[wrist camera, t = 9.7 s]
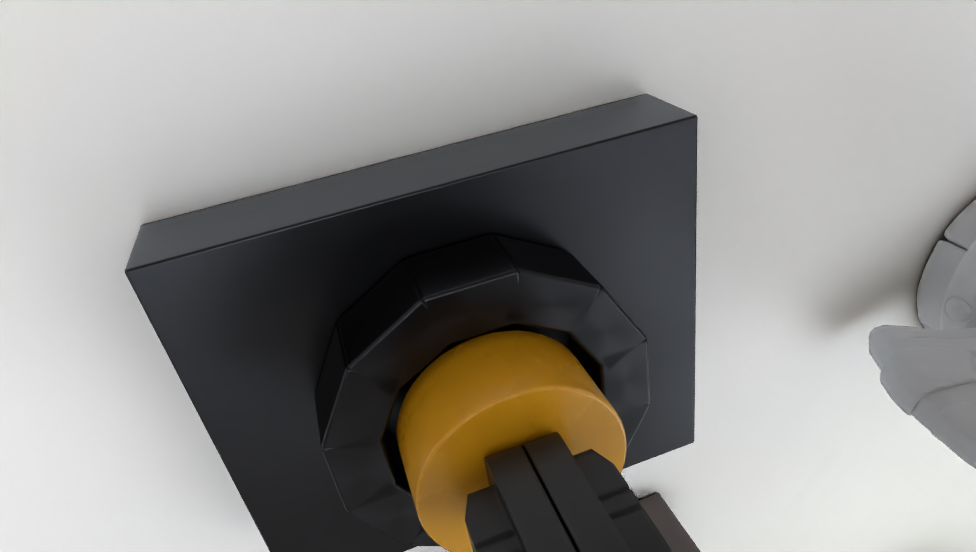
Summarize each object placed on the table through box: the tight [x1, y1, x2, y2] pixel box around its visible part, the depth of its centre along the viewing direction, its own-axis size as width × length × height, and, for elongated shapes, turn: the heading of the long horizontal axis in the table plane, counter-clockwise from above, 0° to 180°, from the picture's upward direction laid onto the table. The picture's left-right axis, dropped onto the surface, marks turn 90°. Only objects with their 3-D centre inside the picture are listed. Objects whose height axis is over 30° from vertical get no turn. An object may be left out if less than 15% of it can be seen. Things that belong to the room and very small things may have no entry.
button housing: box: [125, 94, 697, 552], centre depth 16 cm, size 12×10×4 cm
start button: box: [396, 330, 626, 552], centre depth 14 cm, size 4×4×2 cm
